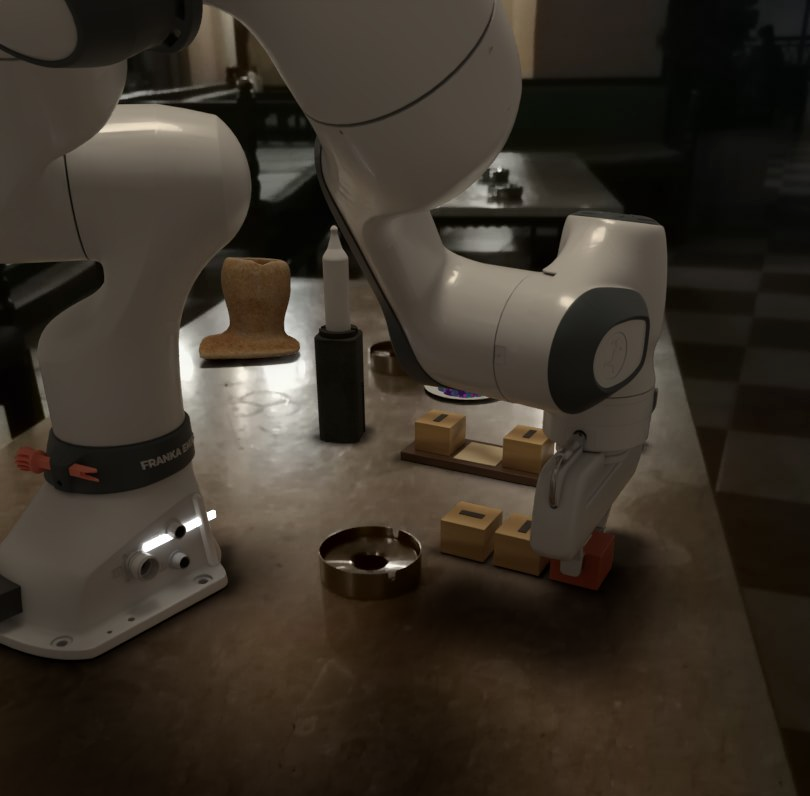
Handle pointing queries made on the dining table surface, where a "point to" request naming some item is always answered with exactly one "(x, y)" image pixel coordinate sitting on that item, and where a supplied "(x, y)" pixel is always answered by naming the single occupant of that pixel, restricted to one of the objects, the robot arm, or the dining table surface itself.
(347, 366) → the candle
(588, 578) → the red cube
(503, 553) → the tan wooden cube
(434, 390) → the pudding
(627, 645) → the dining table surface
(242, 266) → the stone cup
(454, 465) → the tray with tiles
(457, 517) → the tile
